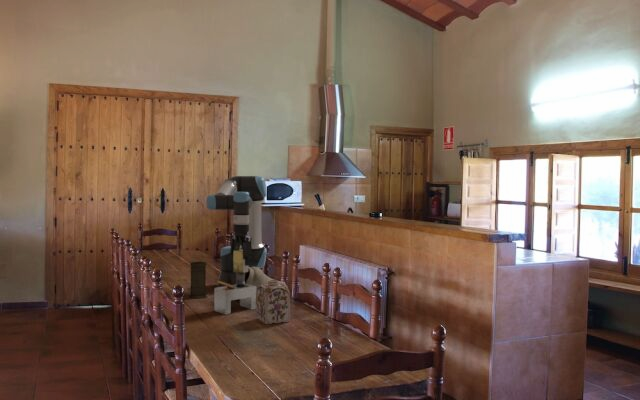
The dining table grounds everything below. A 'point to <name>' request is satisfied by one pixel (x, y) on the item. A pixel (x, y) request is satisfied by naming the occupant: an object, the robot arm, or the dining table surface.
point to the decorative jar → (273, 302)
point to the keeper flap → (226, 284)
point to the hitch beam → (234, 297)
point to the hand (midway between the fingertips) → (240, 270)
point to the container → (198, 280)
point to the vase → (257, 277)
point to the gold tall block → (239, 268)
